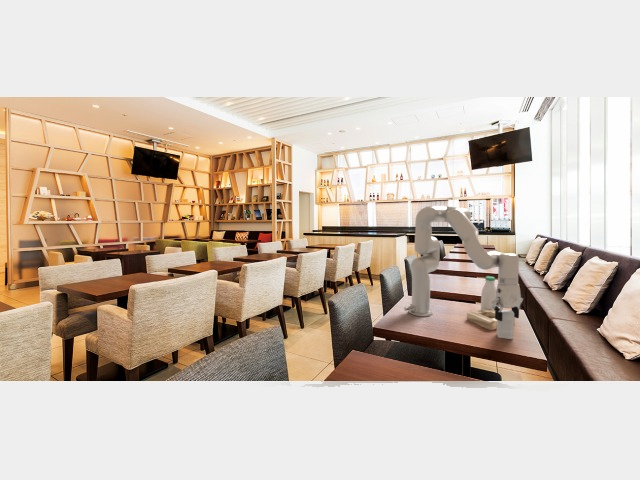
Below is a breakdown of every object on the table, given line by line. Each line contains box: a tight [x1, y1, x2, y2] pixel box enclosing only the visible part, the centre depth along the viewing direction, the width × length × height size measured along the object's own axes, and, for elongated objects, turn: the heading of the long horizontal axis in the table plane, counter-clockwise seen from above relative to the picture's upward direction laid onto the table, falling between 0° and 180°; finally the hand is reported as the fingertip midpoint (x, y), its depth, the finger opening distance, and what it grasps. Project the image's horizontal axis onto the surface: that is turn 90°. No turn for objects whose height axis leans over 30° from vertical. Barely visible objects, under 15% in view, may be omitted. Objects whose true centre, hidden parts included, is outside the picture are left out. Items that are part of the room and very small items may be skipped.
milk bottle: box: [480, 275, 497, 310], centre depth 166 cm, size 8×8×20 cm
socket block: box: [466, 309, 516, 331], centre depth 152 cm, size 16×14×4 cm
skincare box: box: [496, 309, 515, 340], centre depth 135 cm, size 6×4×12 cm
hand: (506, 318), depth 134 cm, fingers open, 9 cm apart
